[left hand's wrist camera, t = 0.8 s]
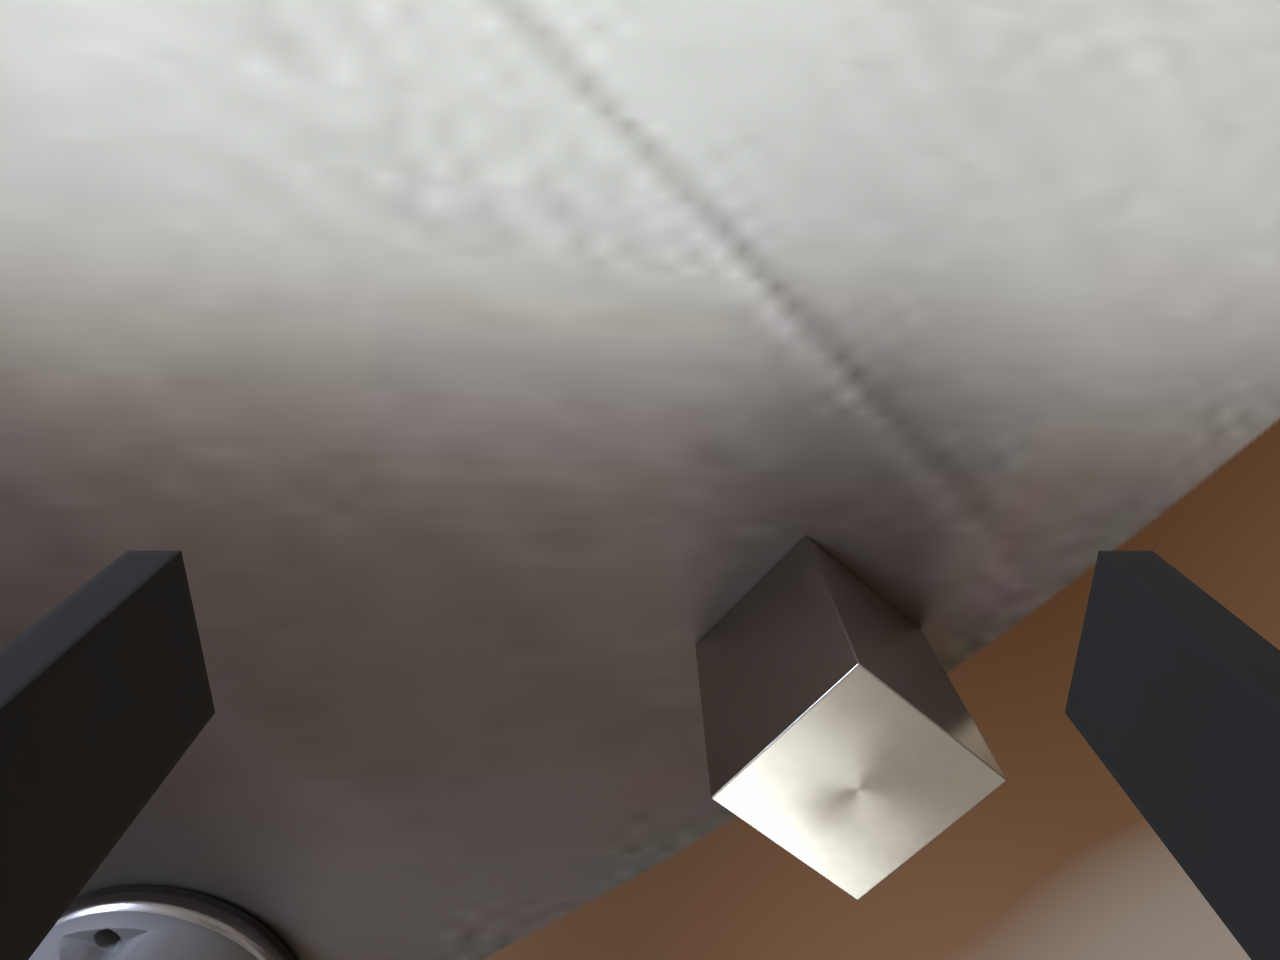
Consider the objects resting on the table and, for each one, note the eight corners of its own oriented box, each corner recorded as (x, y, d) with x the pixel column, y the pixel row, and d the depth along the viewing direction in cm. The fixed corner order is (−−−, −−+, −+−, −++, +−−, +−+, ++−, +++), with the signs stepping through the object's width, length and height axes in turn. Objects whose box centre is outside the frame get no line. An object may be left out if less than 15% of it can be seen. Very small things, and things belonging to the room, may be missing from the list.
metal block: (921, 629, 40) (1008, 780, 30) (809, 730, 42) (857, 901, 32) (805, 535, 38) (859, 663, 29) (694, 645, 40) (710, 798, 31)
